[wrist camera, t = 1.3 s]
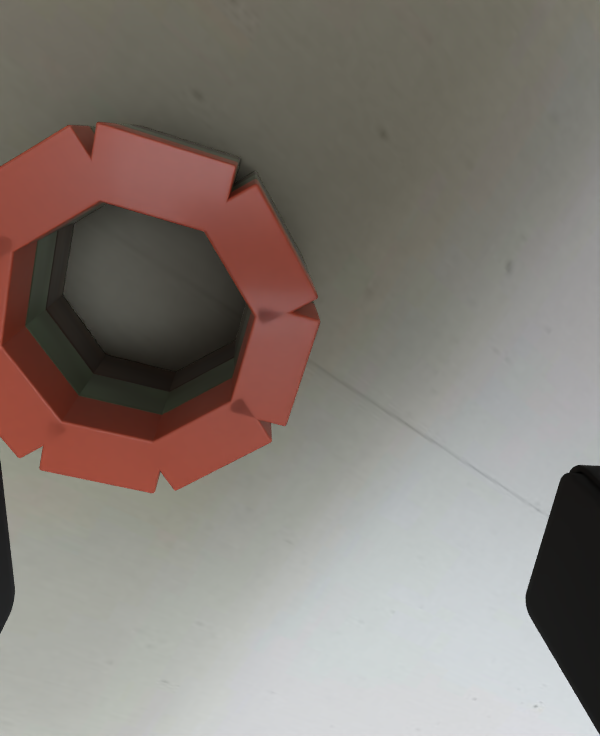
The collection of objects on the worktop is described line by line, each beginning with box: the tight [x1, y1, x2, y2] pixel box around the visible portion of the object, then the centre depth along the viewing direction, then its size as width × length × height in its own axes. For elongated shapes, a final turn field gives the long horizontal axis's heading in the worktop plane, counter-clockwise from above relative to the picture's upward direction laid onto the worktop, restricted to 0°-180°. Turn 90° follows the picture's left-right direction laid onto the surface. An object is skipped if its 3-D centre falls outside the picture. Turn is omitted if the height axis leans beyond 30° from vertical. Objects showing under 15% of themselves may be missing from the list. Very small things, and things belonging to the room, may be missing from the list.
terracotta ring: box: [0, 122, 320, 493], centre depth 18 cm, size 11×11×2 cm
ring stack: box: [25, 123, 314, 415], centre depth 21 cm, size 11×11×4 cm
